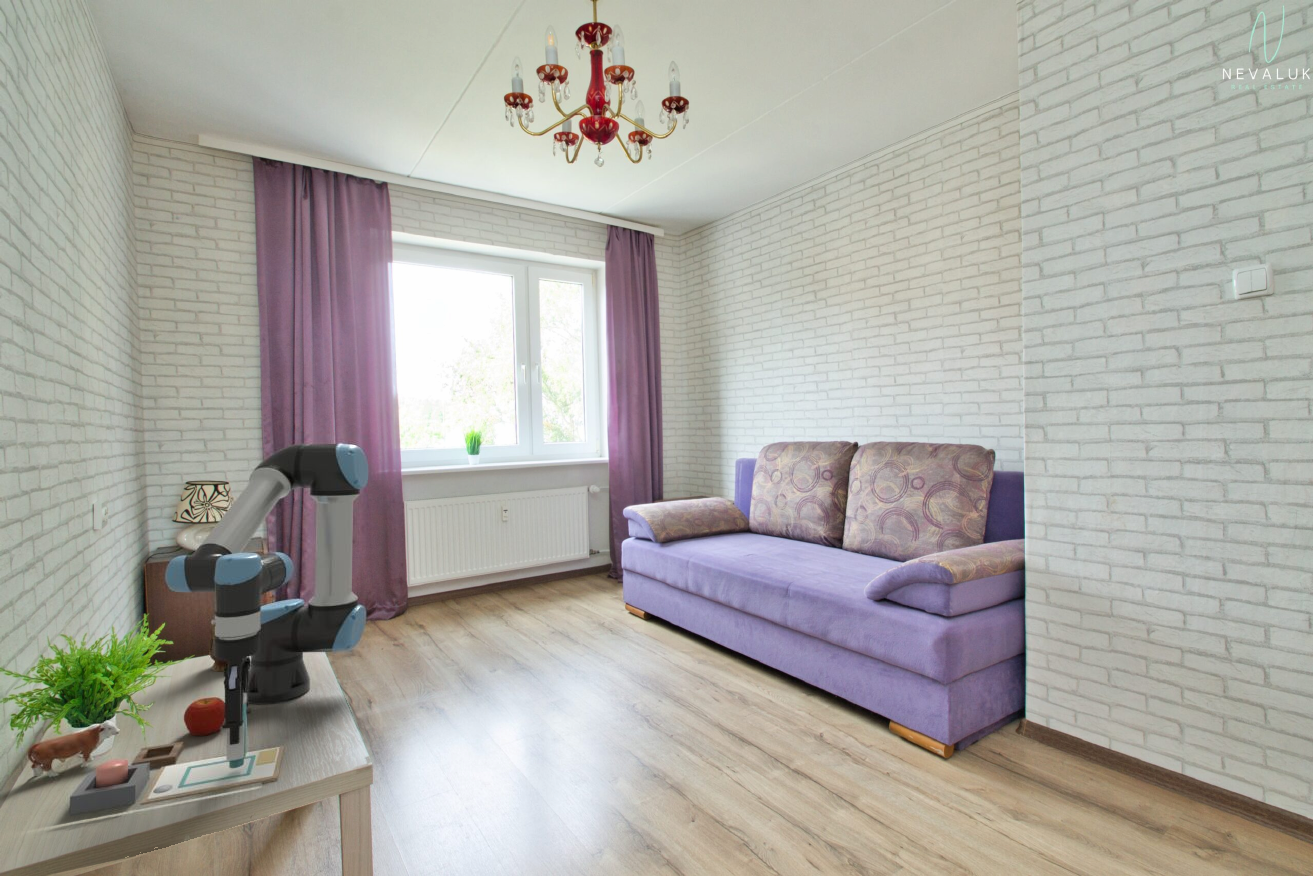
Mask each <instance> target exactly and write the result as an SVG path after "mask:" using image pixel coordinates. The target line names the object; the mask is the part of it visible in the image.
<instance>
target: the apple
mask: <svg viewBox="0 0 1313 876" xmlns="http://www.w3.org/2000/svg"><path fill="white" fill-rule="evenodd" d="M183 721H184V724H185V726H186V729H187V731H188V732H189V733H190V734H191V735H193V736H196V737H197V736H198V737H199V736H200V737H201V736H208V735H211V734H215V733H216V732H218V731H219V730H221V729H222V725H224V724H225V700H223V699H222V698H220V697H216V696H215V697H205V698H199V699H197V700H194V701H193V702H192V703H191V704H190V705H189V706H188V707H187V708H186V709H185V712H184V715H183Z"/></svg>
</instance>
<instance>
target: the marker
mask: <svg viewBox="0 0 1313 876" xmlns="http://www.w3.org/2000/svg"><path fill="white" fill-rule="evenodd" d="M246 702H247V694H246V693H243V723H244V757H245V756H246V752H247V741H246V715H247V714H246ZM244 757H243V758H241V759H236V760H230V761H229V767H230V768H237V767H240V766H242V765H243V764H244Z"/></svg>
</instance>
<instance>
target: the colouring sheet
mask: <svg viewBox="0 0 1313 876" xmlns="http://www.w3.org/2000/svg"><path fill="white" fill-rule="evenodd" d="M284 752H285V745H282V746H276V747H269V748H265V749H259V750H254V751H253V750H252V751H246V756H245V757H244V764H243V765H242V766H240V767H237V768H230V767H229V761H226V755H223V756H218V757H212V758H205V759H199V760H194V761H188V762H182V763H175V764H170V765H165V766H160V769H158V772H157V774H156V776H155V778H154V779H153V781H152V783H151V784H150V787H149V788H148V790H147V792H146V793H145V795H144V796H143V798H142V800H141V802H140V805H145V804H150V803H156V802H161V801H166V800H171V799H177V798H182V797H186V796H192V795H197V794H203V793H204V794H205V793H208V792H215V791H219V790H220V791H221V790H224V789H230V788H235V787H240V786H247V785H251V784H257V783H261V784H266V783H270V782H271V783H272V782H276V781H278V779H279V775H280V769H281V765H282V760H283V755H284Z"/></svg>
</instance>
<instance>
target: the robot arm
mask: <svg viewBox="0 0 1313 876" xmlns="http://www.w3.org/2000/svg"><path fill="white" fill-rule="evenodd" d="M369 471H370V470H369V463H368V460H367V457H366V454H365V452H364V451H363V449H361V448H360V447H359V446H358V445H356V444H355V445H354V444H347V443H297V444H295V443H294V444H292V445H289V446H288V445H287V446H285V447H283V448H281V449H279V450H277V451H276V452H273V453H272V454H270V455H269V456H268V457H265V459H264V460H262V461H261V462H260V463H259V464H258V465H257V466H256V467H255V468H254V469H253V470H252V471H251V474H250V475H249V478H248V479H249V480H248V481H249V483H248V484H247V485H246V487H245V488H244V489H243V490H242V492H241V493H240V494H239V496H238V497H237V498H236V499H235V501H234V502H233V503H232V504H231V506H230V507H229V508H228V509H227V511H226V512H225V513H224V514H223V516H222V517H221V519H219V521H218V522H217V524H215V526H214V527H213V529H212V530H211V531H210V532H209V534H208V535H207V536H206V537H205V538H204V539H203V541H202V542H201V544H200V545H198V548H196V550H195V551H194V552H193V553H192V554H191V555H190V554H185V555H178V556H176V557H174V558H172V559H171V560H170V561H169V563H168V565H167V567H166V570H165V575H164V576H165V583H166V585H167V587H168V589H169V590H171V591H173V592H176V593H177V592H178V593H190V594H194V593H214V605H215V606H214V612H215V619H211V622H210V624H211V625H212V624H216V626H215V635H216V636H217V638H216V639H215V640H214V656H215V657H216V658H217V659H220V660H223V659H224V660H227V661H228V663H227V664H226V667H225V668H224V671H223V678H224V679H223V680H224V681H223V685H224V703H225V720H224V723H223V725H222V726H221V729H222V730H223V729H226V749H225V750H226V755H225V756H226V761H230V760H236V759H241V758H243V757H244V723H243V693H246V694H247V702H246V742H247V741H248V740H247V733H248V732H247V731H248V728H247V726H248V723H247V722H248V721H247V719H248V717H247V715H250V714H252V708H250V709H249V708H248V707H249V704H256V705H261V704H262V705H264V704H275V703H280V702H281V703H282V702H284V701H288V700H292V699H295V698H298V697H300V696H303V695H304V694H306V693H308V692H309V690H310V688H311V677H310V674H309V672H308V669H307V666H306V664H305V661H304V653H333V654H335V653H340V652H341V653H342V652H344V653H345V652H349V651H351V650H353V649H355V648H356V647H357V645H358V643H359V642H360V640H361V638H362V636H363V633H364V631H365V627H366V623H367V622H366V621H367V611H366V607H365V606H364V605H361V604H359V601H358V599H359V598H358V595H356V594H355V593H354V592H353V589H352V588H353V587H352V586H353V583H352V582H353V581H352V580H353V532H354V531H353V530H354V529H353V528H354V527H353V526H354V518H353V517H354V501H355V500H356V499H357V498H359V496H360V495H361V494H360V491H361V489H365V488H366V486H367V485H368V482H369V481H368V479H369V475H370V474H369ZM295 489H309V490H310V491H309V496H310V498H312V499H313V500H314V501H315V503H316V519H315V523H316V524H315V568H314V569H315V572H314V573H315V579H314V595H313V596H312V597H311V598H310V599H309V600H308V602H307V605H305V600H304V599H302V598H293V599H292V598H291V599H285V600H280V601H275V602H272V603H267V604H265V605H262V606H261V603H262V600H261V599H262V595H264V594H266V593H268V592H271V591H273V590H276V589H280V588H281V587H282V586H283V585H286V584H287V583H288V582H289V581H290V580H291V578H292V576H293V575H294V570H295V567H294V562H293V560H292V559H291V558H290V556H289V555H287V554H285V553H283V552H279V551H278V552H277V551H275V552H274V551H273V552H268V553H267V552H266V553H264V554H263V555H262V554H261V555H260V554H258V553H256V552H243V551H244V549H245V548H246V546H247V545H248V544H249V542H250V541H251V540H252V538H253V537H254V535H255V533H257V531H258V529H259V528H260V527H261V525H262V524H263V523H264V521H265V519H266V518H267V517H268V515H269V514H270V513H271V511H272V510H273V508H274V507H275V506H276V504H277V503H278V501H279V500H280V499H283V498H285V497H286V496H288V495H289V494H290V492H291V491H292V490H295Z"/></svg>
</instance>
